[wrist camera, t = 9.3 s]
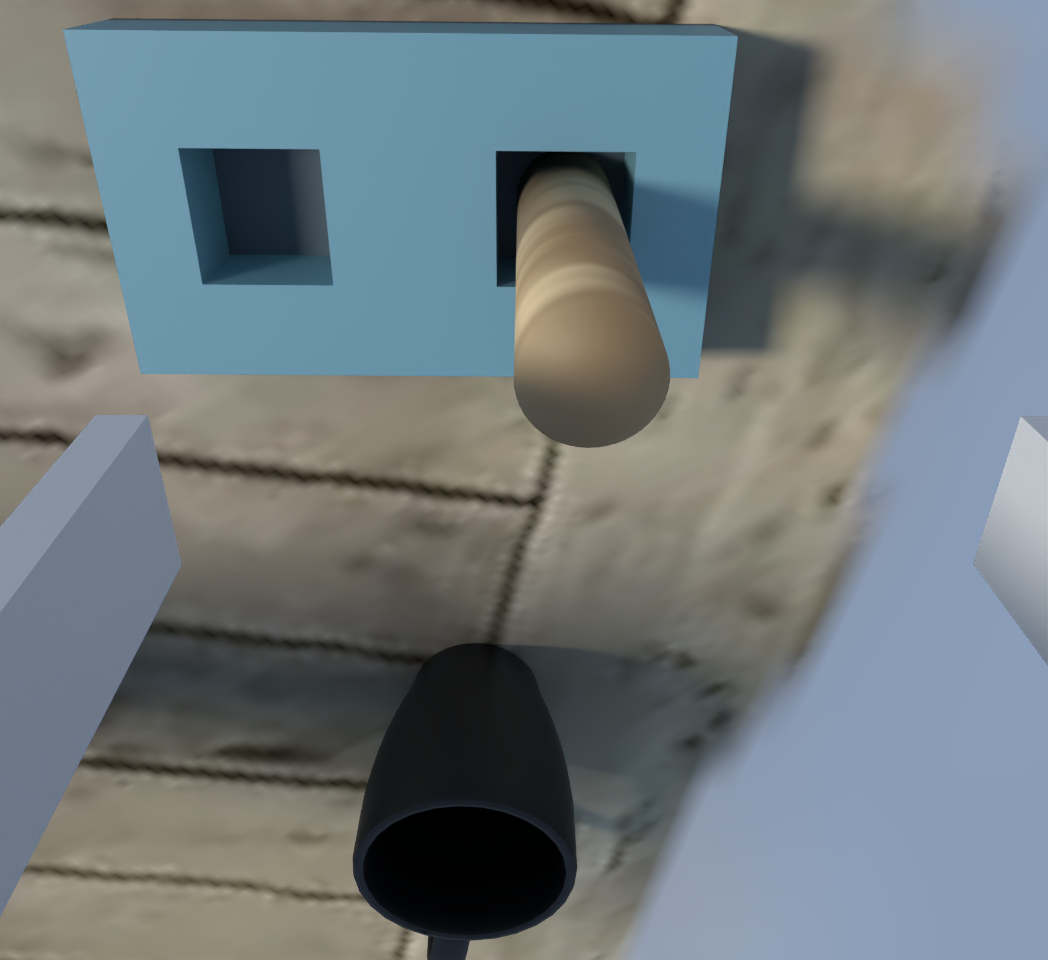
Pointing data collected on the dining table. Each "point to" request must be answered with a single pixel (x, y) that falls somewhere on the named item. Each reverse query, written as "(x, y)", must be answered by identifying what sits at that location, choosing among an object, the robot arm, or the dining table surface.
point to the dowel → (581, 310)
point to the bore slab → (385, 181)
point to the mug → (468, 806)
